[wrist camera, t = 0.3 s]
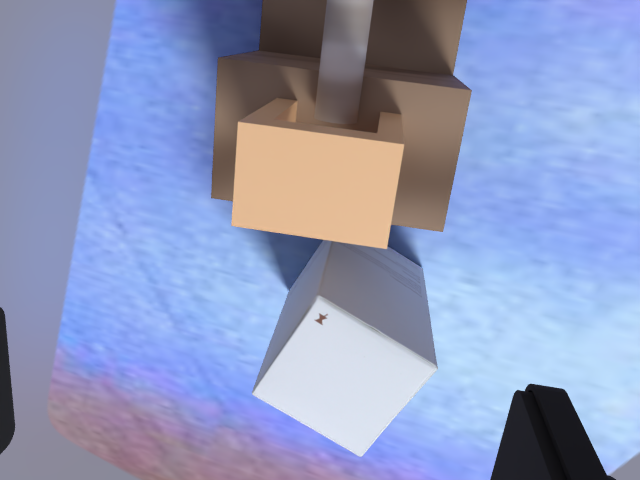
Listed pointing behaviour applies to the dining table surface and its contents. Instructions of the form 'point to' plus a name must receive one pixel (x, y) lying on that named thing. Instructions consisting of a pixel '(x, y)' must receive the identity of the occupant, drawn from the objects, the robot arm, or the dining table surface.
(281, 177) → the cord clip
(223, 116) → the rod slider mechanism
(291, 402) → the supplement box
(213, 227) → the dining table surface
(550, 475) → the robot arm
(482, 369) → the dining table surface
